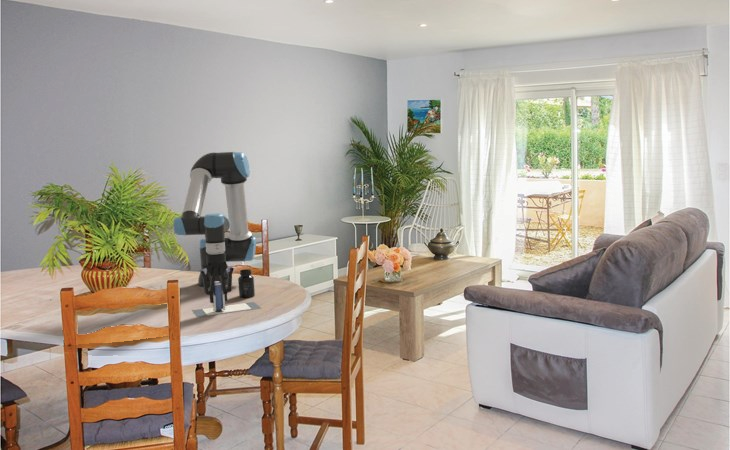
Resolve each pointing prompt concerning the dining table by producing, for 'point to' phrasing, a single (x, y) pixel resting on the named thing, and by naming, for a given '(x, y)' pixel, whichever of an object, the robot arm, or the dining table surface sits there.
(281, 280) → the dining table surface
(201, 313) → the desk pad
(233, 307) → the paper
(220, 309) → the marker
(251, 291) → the supplement bottle
